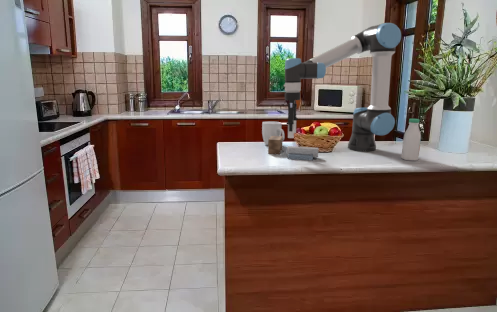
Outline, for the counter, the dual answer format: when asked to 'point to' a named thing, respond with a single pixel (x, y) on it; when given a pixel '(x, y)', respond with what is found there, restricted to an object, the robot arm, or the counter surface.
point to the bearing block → (275, 144)
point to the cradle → (300, 157)
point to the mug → (271, 130)
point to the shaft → (302, 151)
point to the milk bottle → (411, 141)
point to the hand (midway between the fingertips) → (292, 135)
